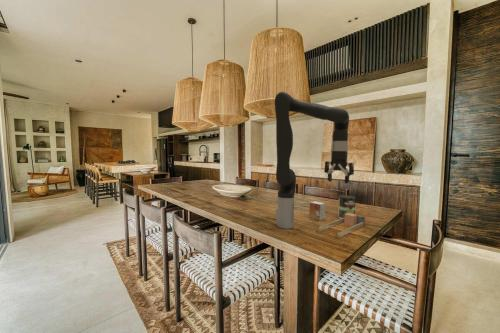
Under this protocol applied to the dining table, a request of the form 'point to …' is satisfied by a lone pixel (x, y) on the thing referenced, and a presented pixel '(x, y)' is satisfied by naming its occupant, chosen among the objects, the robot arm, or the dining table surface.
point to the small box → (317, 210)
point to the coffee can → (346, 205)
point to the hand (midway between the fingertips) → (337, 182)
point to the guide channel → (359, 224)
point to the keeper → (350, 219)
